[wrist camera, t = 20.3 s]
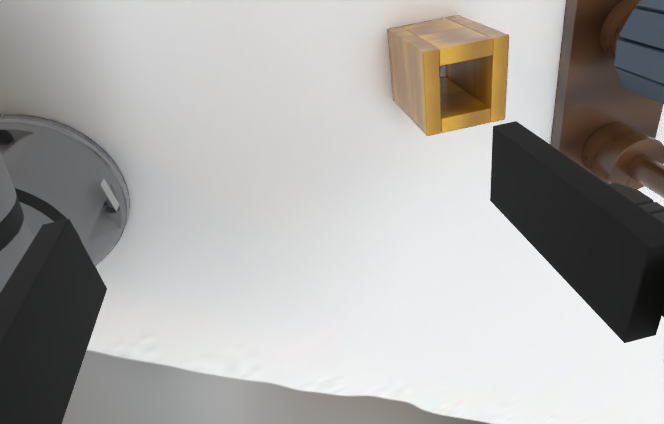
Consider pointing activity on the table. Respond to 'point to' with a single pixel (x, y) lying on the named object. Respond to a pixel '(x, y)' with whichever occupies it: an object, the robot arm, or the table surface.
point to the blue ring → (643, 50)
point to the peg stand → (604, 101)
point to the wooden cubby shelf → (449, 73)
